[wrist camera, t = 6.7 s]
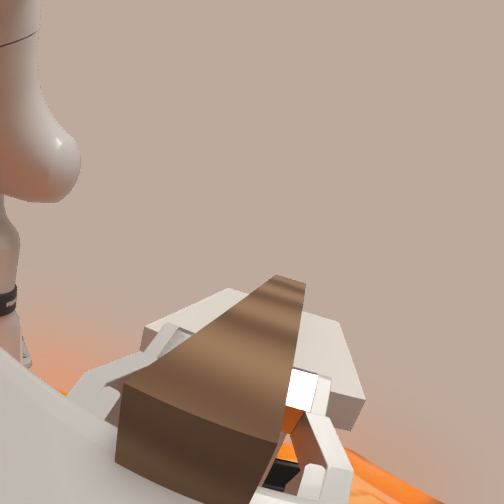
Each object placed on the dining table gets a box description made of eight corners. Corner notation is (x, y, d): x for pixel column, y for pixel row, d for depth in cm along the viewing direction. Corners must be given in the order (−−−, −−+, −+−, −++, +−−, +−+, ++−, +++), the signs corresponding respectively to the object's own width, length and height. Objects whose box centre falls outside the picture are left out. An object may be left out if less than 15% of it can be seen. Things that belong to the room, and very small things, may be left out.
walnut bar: (234, 531, 5) (277, 443, 5) (113, 480, 5) (123, 382, 5) (296, 313, 31) (306, 283, 30) (266, 304, 31) (275, 274, 31)
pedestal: (234, 596, 16) (365, 399, 14) (117, 552, 18) (144, 326, 16) (264, 494, 33) (338, 321, 32) (179, 465, 35) (228, 287, 34)
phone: (245, 450, 42) (336, 469, 41) (243, 455, 42) (333, 474, 41) (238, 482, 34) (342, 501, 33) (236, 487, 34) (339, 505, 33)
